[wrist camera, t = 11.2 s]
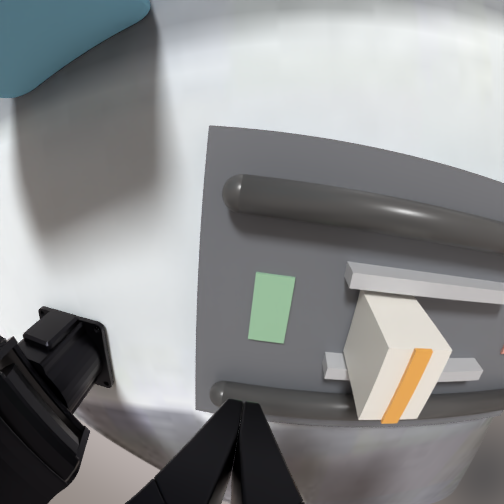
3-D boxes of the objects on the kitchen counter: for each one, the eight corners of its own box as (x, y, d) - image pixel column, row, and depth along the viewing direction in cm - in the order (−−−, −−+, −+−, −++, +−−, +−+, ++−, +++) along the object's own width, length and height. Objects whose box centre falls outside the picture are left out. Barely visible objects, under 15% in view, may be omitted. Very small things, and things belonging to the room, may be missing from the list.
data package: (145, -33, 13) (43, -125, 2) (159, 13, 15) (38, -83, 3) (15, 54, 16) (-105, 42, 4) (22, 100, 17) (-111, 104, 6)
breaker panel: (489, 398, 21) (507, 428, 17) (203, 387, 23) (189, 427, 18) (563, 208, 15) (598, 222, 11) (219, 128, 17) (199, 123, 13)
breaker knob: (390, 354, 17) (417, 422, 12) (342, 351, 17) (358, 423, 12) (411, 292, 16) (454, 351, 10) (361, 286, 16) (390, 349, 11)
